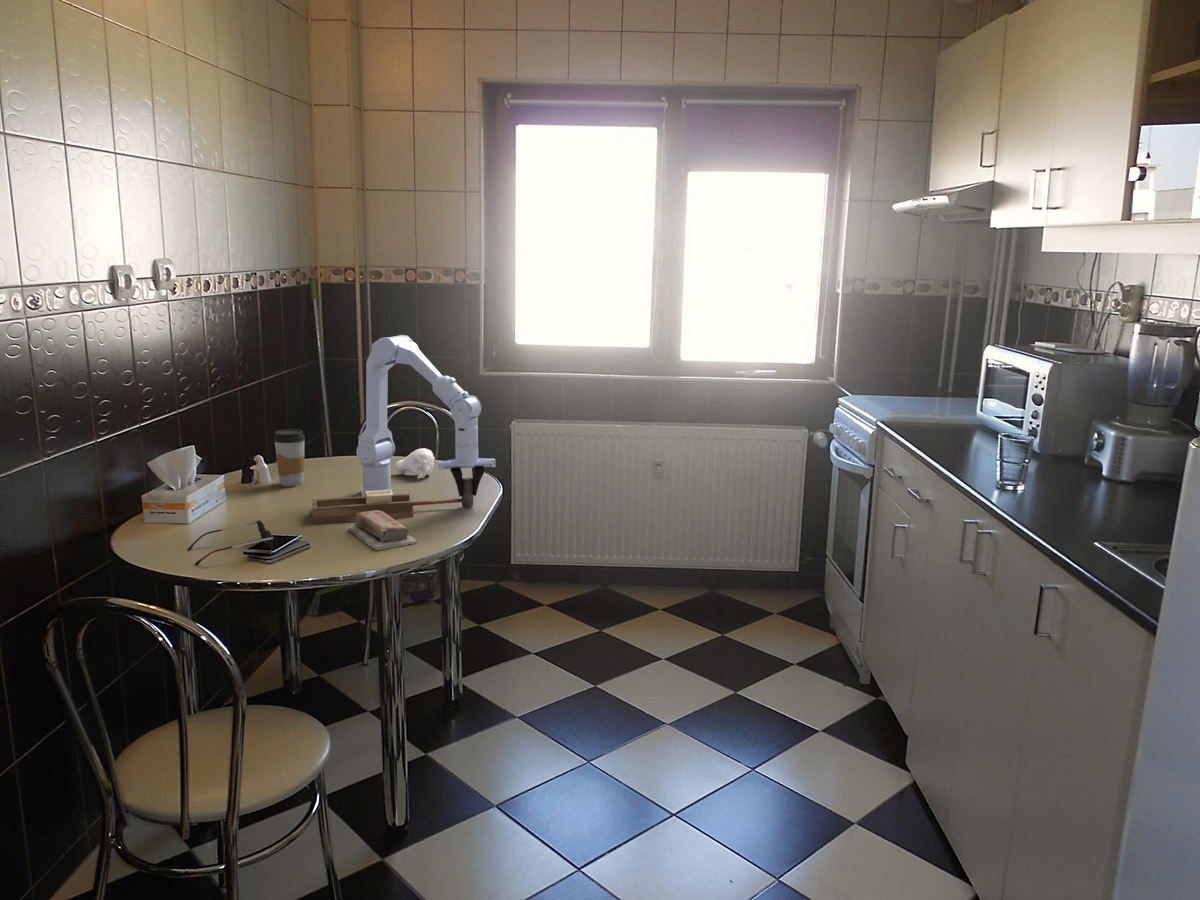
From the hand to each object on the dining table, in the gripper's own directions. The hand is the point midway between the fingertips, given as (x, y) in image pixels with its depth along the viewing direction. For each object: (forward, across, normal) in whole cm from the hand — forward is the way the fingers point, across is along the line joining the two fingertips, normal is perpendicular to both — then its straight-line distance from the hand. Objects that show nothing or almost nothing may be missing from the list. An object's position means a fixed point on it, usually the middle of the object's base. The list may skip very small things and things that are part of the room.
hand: (467, 495), depth 233 cm
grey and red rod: (+3, -12, 0) cm, 12 cm away
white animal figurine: (+3, -10, +36) cm, 37 cm away
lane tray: (+3, -26, 0) cm, 27 cm away
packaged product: (+4, -24, -19) cm, 31 cm away
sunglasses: (+4, -56, -21) cm, 60 cm away
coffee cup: (+3, -44, +35) cm, 56 cm away
